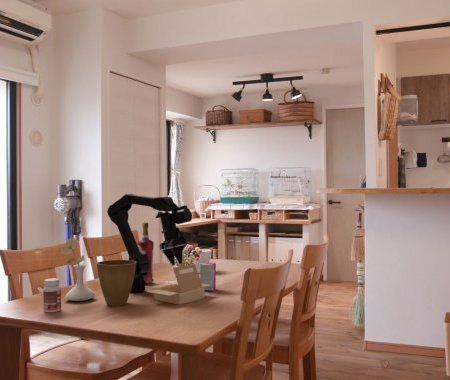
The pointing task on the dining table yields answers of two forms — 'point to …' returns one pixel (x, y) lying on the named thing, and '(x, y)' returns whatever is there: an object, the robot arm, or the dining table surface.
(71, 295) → the flower in vase
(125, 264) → the plant pot
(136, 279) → the robot arm
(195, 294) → the carton
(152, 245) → the liquor
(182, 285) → the flap
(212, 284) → the supplement box
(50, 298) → the pill bottle
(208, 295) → the dining table surface
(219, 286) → the dining table surface
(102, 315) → the dining table surface
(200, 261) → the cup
